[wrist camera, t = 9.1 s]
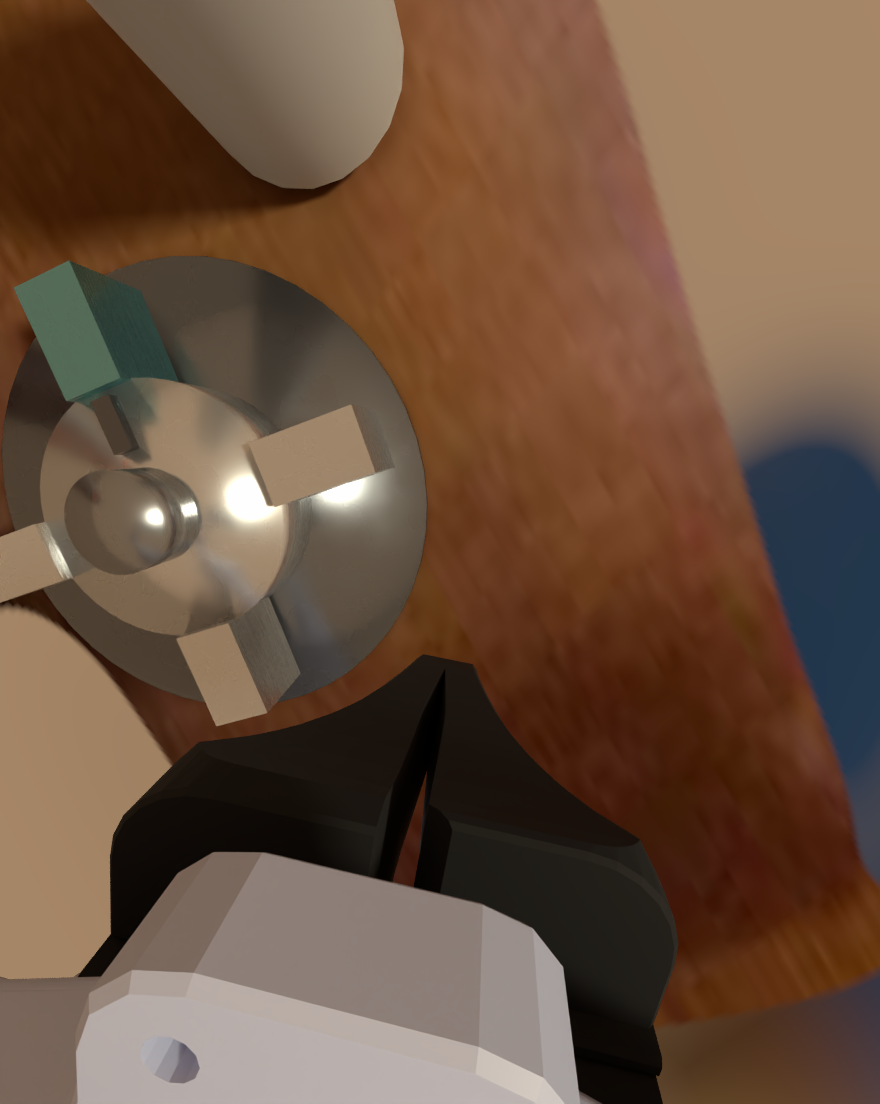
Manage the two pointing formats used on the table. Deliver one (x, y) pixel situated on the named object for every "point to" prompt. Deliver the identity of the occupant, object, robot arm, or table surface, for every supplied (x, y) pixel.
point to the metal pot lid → (202, 467)
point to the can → (275, 76)
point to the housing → (167, 506)
